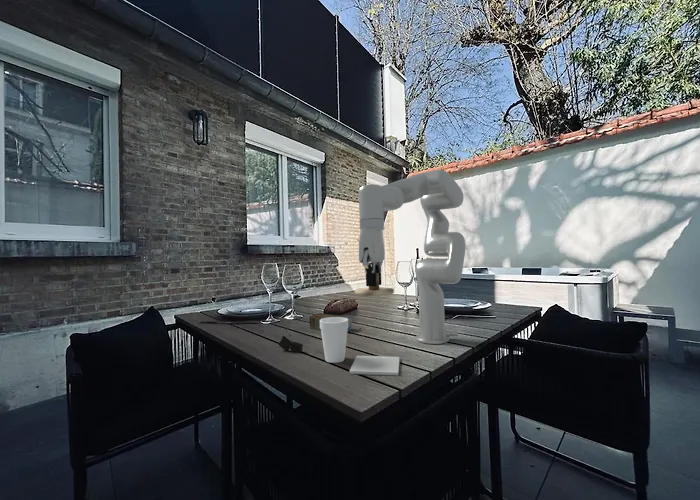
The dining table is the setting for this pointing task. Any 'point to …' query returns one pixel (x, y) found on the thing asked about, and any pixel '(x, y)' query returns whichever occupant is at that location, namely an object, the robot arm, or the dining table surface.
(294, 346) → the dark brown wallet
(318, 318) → the beverage carton
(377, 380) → the dining table surface
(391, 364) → the mat
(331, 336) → the foam cup
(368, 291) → the lid
